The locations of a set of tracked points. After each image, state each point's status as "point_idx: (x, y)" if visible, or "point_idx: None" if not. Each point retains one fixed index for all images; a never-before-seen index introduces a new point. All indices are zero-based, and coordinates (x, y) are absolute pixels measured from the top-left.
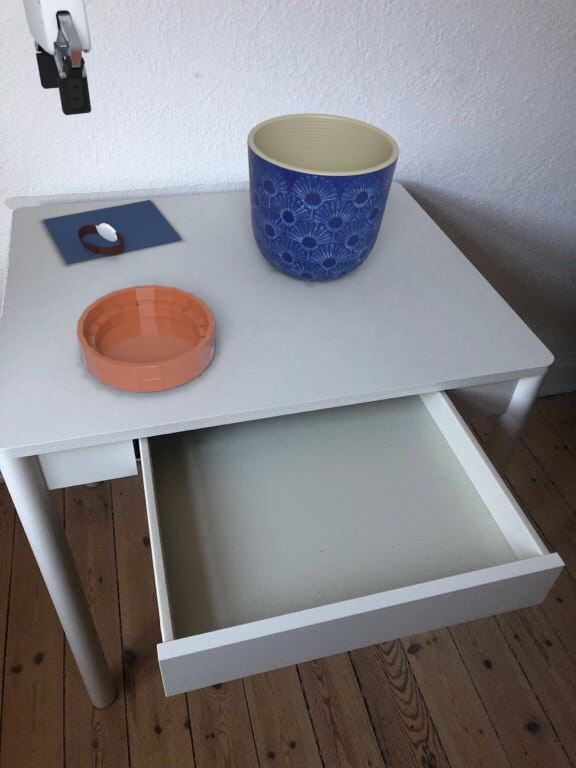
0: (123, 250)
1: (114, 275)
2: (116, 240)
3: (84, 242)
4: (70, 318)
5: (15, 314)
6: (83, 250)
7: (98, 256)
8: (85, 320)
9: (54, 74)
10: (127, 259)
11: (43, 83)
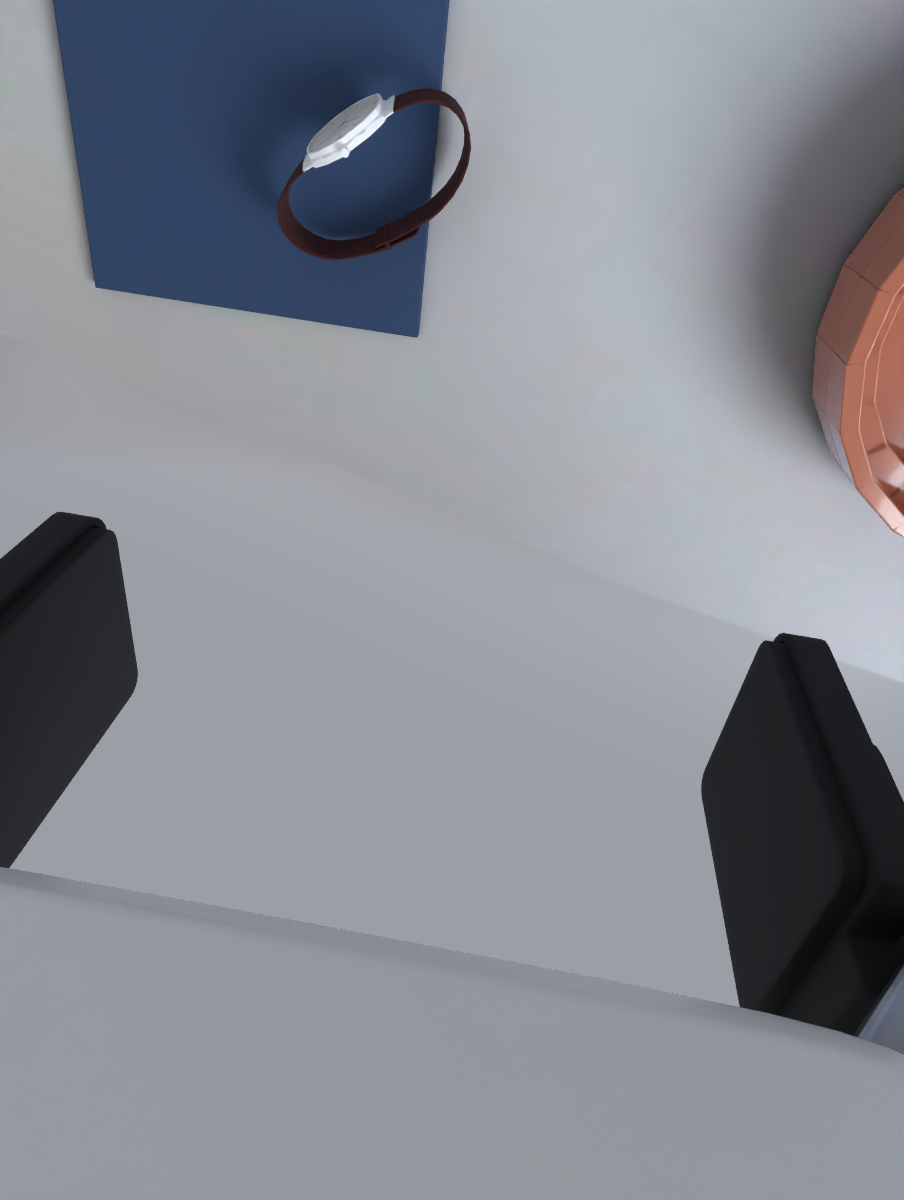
0: None
1: (572, 216)
2: (352, 85)
3: (372, 253)
4: (701, 449)
5: (586, 552)
6: None
7: None
8: (897, 506)
9: (73, 671)
10: (496, 108)
11: (122, 707)
